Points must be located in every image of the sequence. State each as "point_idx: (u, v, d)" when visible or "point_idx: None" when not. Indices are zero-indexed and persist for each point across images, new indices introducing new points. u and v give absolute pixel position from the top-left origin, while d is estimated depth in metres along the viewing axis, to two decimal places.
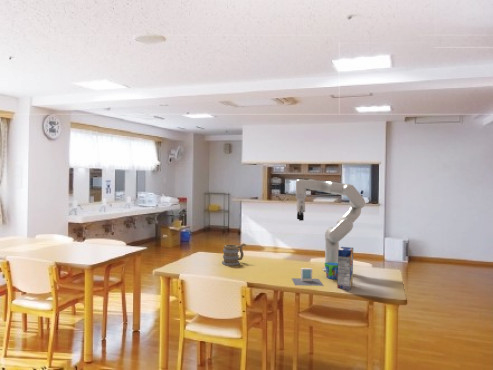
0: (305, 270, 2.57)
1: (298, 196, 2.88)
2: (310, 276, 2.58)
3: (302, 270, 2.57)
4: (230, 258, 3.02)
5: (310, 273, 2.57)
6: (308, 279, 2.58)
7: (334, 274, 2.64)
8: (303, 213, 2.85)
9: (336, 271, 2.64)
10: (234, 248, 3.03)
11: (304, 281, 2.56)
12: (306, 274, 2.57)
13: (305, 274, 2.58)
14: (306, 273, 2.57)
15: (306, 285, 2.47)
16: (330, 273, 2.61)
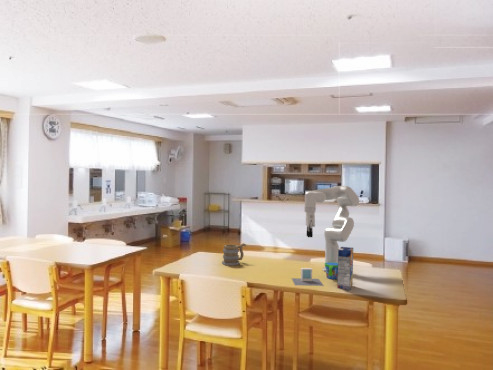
0: (305, 270, 2.57)
1: (307, 210, 2.70)
2: (310, 276, 2.58)
3: (302, 270, 2.57)
4: (230, 258, 3.02)
5: (310, 273, 2.57)
6: (308, 279, 2.58)
7: (334, 274, 2.64)
8: (312, 230, 2.70)
9: (336, 271, 2.64)
10: (234, 248, 3.03)
11: (304, 281, 2.56)
12: (306, 274, 2.57)
13: (305, 274, 2.58)
14: (306, 273, 2.57)
15: (306, 285, 2.47)
16: (330, 273, 2.61)
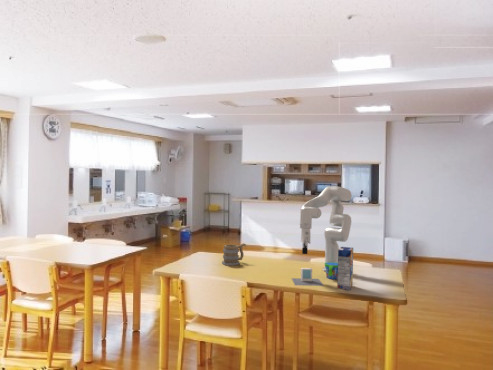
0: (305, 270, 2.57)
1: (303, 226, 2.62)
2: (310, 276, 2.58)
3: (302, 270, 2.57)
4: (230, 258, 3.02)
5: (310, 273, 2.57)
6: (308, 279, 2.58)
7: (334, 274, 2.64)
8: None
9: (336, 271, 2.64)
10: (234, 248, 3.03)
11: (304, 281, 2.56)
12: (306, 274, 2.57)
13: (305, 274, 2.58)
14: (306, 273, 2.57)
15: (306, 285, 2.47)
16: (330, 273, 2.61)
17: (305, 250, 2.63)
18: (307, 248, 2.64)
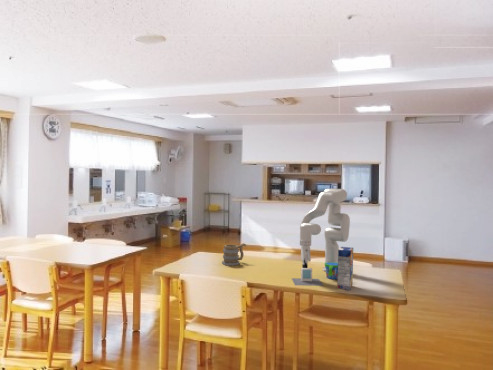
0: (305, 270, 2.57)
1: (303, 243, 2.62)
2: (310, 276, 2.58)
3: (302, 270, 2.57)
4: (230, 258, 3.02)
5: (310, 273, 2.57)
6: (308, 279, 2.58)
7: (334, 274, 2.64)
8: (307, 264, 2.63)
9: (336, 271, 2.64)
10: (234, 248, 3.03)
11: (304, 281, 2.56)
12: (306, 274, 2.57)
13: (305, 274, 2.58)
14: (306, 273, 2.57)
15: (306, 285, 2.47)
16: (330, 273, 2.61)
17: (305, 267, 2.64)
18: (307, 265, 2.64)
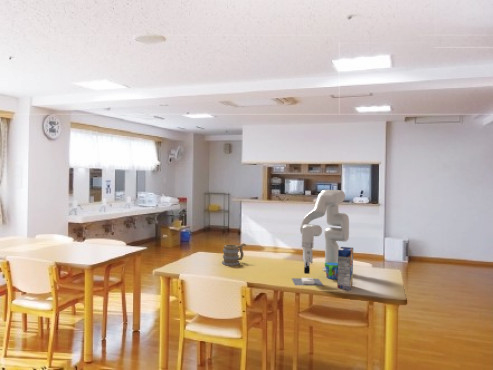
0: (307, 283, 2.51)
1: (305, 245, 2.54)
2: None
3: None
4: (230, 258, 3.02)
5: None
6: None
7: (334, 274, 2.64)
8: (309, 266, 2.55)
9: (336, 271, 2.64)
10: (234, 248, 3.03)
11: None
12: None
13: None
14: None
15: (306, 285, 2.47)
16: (330, 273, 2.61)
17: (307, 270, 2.56)
18: (309, 267, 2.56)
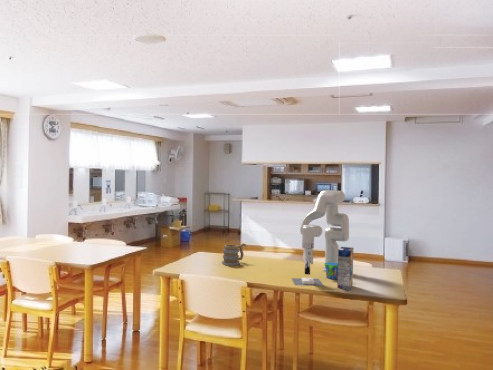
0: (307, 283, 2.51)
1: (305, 246, 2.52)
2: None
3: None
4: (230, 258, 3.02)
5: None
6: None
7: (334, 274, 2.64)
8: None
9: (336, 271, 2.64)
10: (234, 248, 3.03)
11: None
12: None
13: None
14: None
15: (306, 285, 2.47)
16: (330, 273, 2.61)
17: (308, 270, 2.54)
18: None
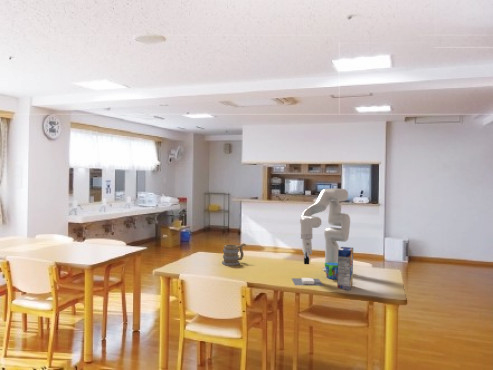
0: (307, 283, 2.51)
1: (304, 237, 2.59)
2: None
3: None
4: (230, 258, 3.02)
5: None
6: None
7: (334, 274, 2.64)
8: None
9: (336, 271, 2.64)
10: (234, 248, 3.03)
11: None
12: None
13: None
14: None
15: (306, 285, 2.47)
16: (330, 273, 2.61)
17: (307, 260, 2.62)
18: None
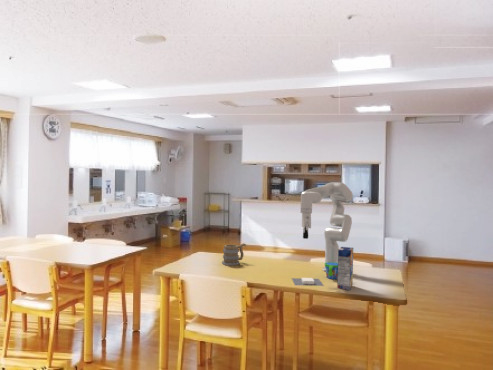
0: (307, 283, 2.51)
1: (303, 211, 2.62)
2: None
3: None
4: (230, 258, 3.02)
5: None
6: None
7: (334, 274, 2.64)
8: None
9: (336, 271, 2.64)
10: (234, 248, 3.03)
11: None
12: None
13: None
14: None
15: (306, 285, 2.47)
16: (330, 273, 2.61)
17: (306, 235, 2.64)
18: None
